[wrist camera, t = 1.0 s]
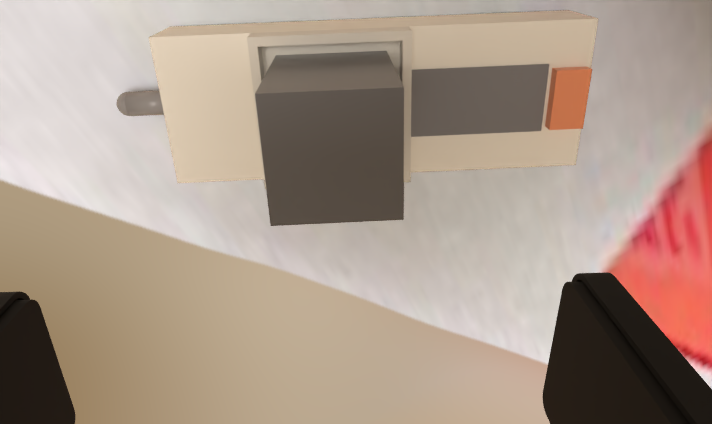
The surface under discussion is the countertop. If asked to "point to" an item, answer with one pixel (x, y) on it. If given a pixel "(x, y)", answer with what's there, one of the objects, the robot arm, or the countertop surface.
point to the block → (332, 138)
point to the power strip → (416, 71)
